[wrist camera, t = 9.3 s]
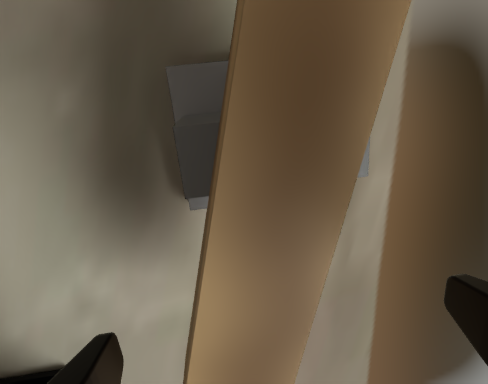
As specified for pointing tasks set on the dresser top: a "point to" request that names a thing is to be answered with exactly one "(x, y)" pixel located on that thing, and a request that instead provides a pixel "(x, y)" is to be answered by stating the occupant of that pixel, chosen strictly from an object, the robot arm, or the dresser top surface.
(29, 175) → the dresser top surface
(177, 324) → the dresser top surface
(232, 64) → the plank
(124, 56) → the dresser top surface
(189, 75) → the grey stepped block
